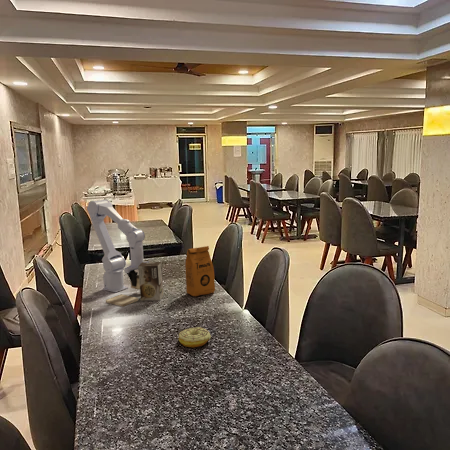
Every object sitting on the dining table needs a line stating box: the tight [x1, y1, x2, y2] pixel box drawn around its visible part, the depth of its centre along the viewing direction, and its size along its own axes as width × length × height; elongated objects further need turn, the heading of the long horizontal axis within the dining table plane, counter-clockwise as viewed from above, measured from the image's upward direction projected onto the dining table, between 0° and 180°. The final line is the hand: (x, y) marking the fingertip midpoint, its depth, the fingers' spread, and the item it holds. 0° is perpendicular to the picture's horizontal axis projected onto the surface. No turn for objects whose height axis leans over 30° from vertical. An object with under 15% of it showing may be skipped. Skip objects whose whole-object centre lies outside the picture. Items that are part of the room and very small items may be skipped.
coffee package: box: [184, 245, 216, 297], centre depth 186 cm, size 10×12×22 cm
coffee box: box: [137, 261, 164, 302], centre depth 182 cm, size 9×6×16 cm
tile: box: [105, 293, 139, 308], centre depth 181 cm, size 11×9×1 cm
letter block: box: [130, 274, 140, 291], centre depth 190 cm, size 5×5×5 cm
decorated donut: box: [178, 326, 212, 348], centre depth 139 cm, size 10×11×4 cm
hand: (138, 284), depth 190 cm, fingers closed on letter block, 5 cm apart
